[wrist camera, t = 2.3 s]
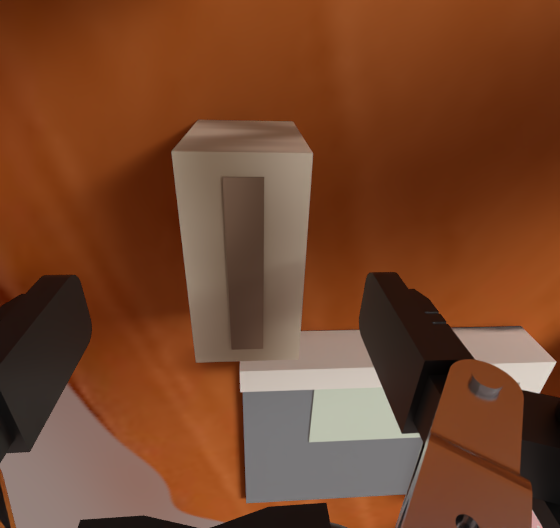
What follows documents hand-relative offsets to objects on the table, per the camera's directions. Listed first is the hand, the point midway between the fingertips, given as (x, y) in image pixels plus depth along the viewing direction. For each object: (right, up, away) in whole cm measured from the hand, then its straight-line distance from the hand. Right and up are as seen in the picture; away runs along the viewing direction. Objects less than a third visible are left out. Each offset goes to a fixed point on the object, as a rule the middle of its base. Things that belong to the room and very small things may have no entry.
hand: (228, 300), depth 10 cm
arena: (+7, -10, +15) cm, 20 cm away
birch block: (0, +4, +7) cm, 8 cm away
